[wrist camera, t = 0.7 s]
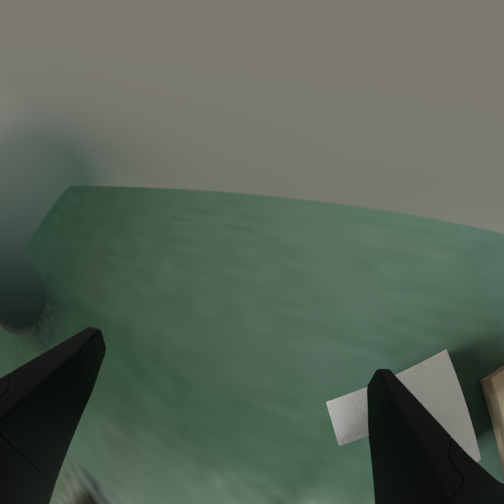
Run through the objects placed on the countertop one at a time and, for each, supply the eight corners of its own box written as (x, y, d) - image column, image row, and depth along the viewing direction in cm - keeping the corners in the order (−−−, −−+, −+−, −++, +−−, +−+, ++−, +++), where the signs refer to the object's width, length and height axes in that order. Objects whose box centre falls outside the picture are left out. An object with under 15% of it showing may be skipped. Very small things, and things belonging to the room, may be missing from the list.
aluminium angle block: (432, 360, 18) (446, 349, 14) (461, 449, 14) (481, 459, 10) (336, 401, 20) (326, 401, 16) (362, 490, 15) (357, 512, 11)
